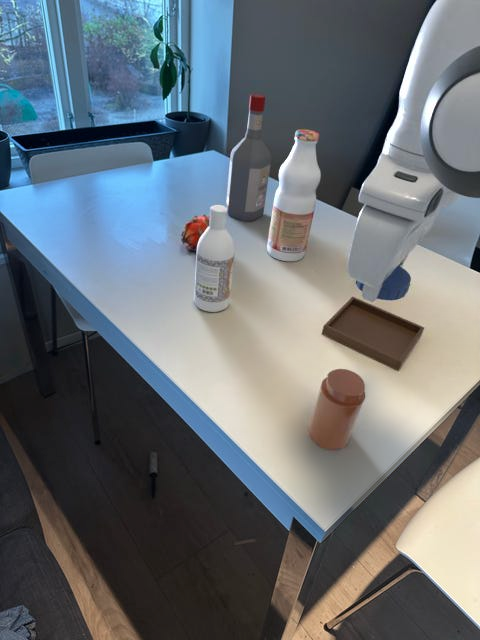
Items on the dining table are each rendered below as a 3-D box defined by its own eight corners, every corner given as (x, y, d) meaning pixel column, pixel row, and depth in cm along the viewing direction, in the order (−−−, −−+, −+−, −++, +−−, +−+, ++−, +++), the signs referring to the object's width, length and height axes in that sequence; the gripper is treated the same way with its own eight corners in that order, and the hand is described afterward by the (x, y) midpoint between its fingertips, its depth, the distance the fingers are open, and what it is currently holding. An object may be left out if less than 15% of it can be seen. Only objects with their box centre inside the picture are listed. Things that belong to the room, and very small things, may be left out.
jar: (355, 430, 66) (375, 380, 60) (338, 457, 62) (358, 406, 56) (319, 410, 69) (335, 359, 62) (301, 434, 65) (315, 383, 58)
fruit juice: (258, 249, 108) (275, 128, 92) (284, 240, 114) (304, 124, 97) (286, 266, 103) (310, 141, 86) (312, 255, 109) (339, 136, 92)
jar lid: (346, 287, 55) (350, 274, 53) (366, 267, 59) (370, 254, 58) (396, 307, 52) (401, 293, 51) (413, 285, 56) (418, 272, 55)
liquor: (266, 213, 126) (283, 97, 108) (249, 224, 119) (265, 102, 101) (239, 204, 129) (251, 90, 111) (221, 213, 123) (231, 94, 105)
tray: (421, 335, 87) (424, 327, 86) (398, 371, 78) (402, 362, 77) (349, 304, 93) (352, 296, 92) (321, 334, 84) (323, 325, 83)
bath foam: (229, 314, 86) (240, 218, 74) (193, 312, 86) (198, 215, 74) (228, 293, 92) (238, 201, 80) (194, 292, 91) (199, 198, 79)
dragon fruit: (222, 246, 111) (186, 267, 105) (202, 218, 111) (165, 237, 105) (236, 230, 104) (198, 251, 98) (215, 200, 104) (175, 219, 98)
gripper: (419, 148, 55) (385, 247, 64) (354, 189, 41) (321, 309, 50) (471, 162, 53) (429, 263, 61) (420, 211, 39) (375, 334, 47)
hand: (380, 285), depth 55 cm, fingers closed on jar lid, 6 cm apart
